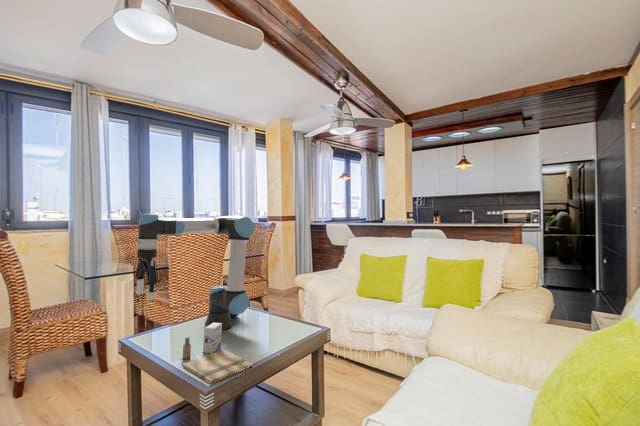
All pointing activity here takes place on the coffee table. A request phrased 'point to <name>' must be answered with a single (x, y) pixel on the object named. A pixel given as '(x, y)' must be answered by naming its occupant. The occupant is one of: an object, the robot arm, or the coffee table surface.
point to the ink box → (212, 337)
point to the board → (216, 365)
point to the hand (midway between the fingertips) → (144, 296)
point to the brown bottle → (186, 349)
